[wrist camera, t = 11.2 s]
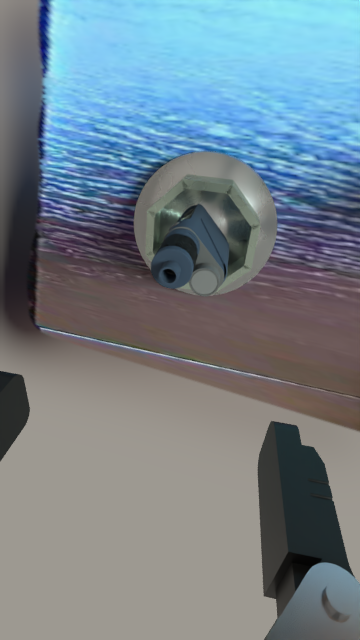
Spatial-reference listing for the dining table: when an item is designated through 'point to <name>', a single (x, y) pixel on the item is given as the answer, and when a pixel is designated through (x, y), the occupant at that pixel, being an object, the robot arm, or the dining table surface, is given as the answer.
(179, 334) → the dining table surface
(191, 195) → the ring seat
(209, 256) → the vaping device
